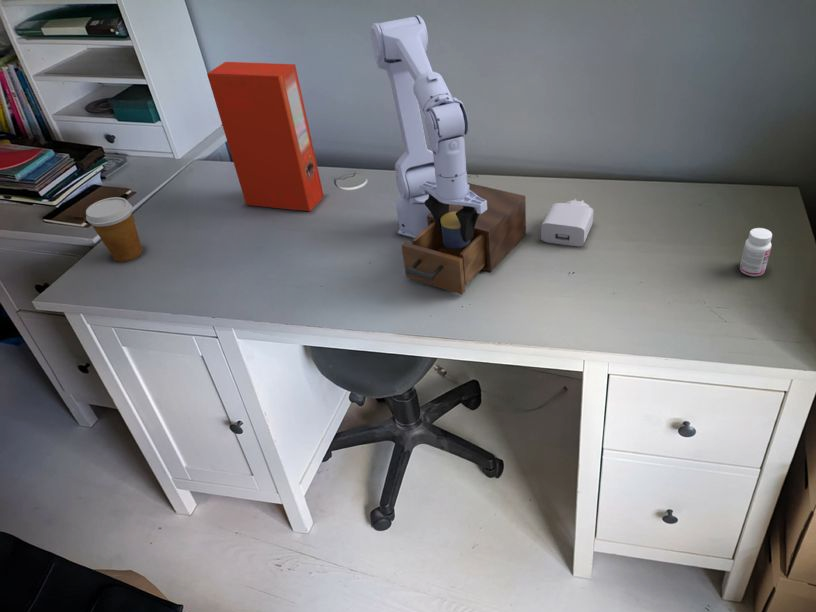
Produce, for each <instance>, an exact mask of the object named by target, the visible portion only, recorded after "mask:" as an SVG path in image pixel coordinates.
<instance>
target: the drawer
mask: <svg viewBox="0 0 816 612" xmlns="http://www.w3.org/2000/svg"><path fill="white" fill-rule="evenodd" d="M401 251H402V258H403V264H404V272H405V277H406V279H410V280H413V281H416V282H420V283H422V284H426V285H428V286H433V287H435V288H440V289H443V290H446V291H449V292H453V293H456V294H459V295H464V294H465V292H466V286H467V285H468V284H469V283H470V282H471V281H472V280H473V279H474V278H475V277H476V276H477V275H478V274H479V273H480V271H481V270H482V268H483V267H484V266H485V265H486V264H487V250H486V234H483V233H479V232H475V231H474V233H473V238H472V239H471V241H470V243H469V244H468V245H467V246H465V247H462V248H457V249H453V248H448V247H446V246H445V245H444V244H443V237H442V233H440V231H439V229H438V226H437V224H436V221H433V222H432V223H431V224H430V225H429V226H428V227H427V228H425V229H424V230H423V231H422V232H421V233H420V234H419V235H417V236H416V237H415V238H413V239H412V240H411V243H409V242H406V241H404V242H403V243H402V244H401Z"/></svg>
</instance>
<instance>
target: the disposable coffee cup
mask: <svg viewBox="0 0 816 612" xmlns="http://www.w3.org/2000/svg"><path fill="white" fill-rule="evenodd" d="M85 215H86V216H85V220H86V222H88V223H89V224H90V225H91V226H92V228H93V229H94V230H95V232H96V234H97V235H98V237H99V238H100V240H101V241H102V243H103V245H104V246H105V247H106V249H107V251H108V252H109V253H110V255H111V257H112V258H113V260H114V261H116V262H120V263H123V262H130V261H132V260H135V259H137V258H138V257H139V256H141V255H142V253H143V247H142V243H141V241H140V236H139V233H138V229H137V226H136V222H135V219H134V214H133V205H132V204H131V203H130V202H129V201H128V200H127V199H126V198H124V197H120V196H119V197H118V196H116V197H108V198H103V199H101V200H97V201H95V202H94V203H92V204H90V205H89V206H88V207H87V208H86V210H85Z"/></svg>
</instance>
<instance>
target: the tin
mask: <svg viewBox="0 0 816 612" xmlns="http://www.w3.org/2000/svg"><path fill="white" fill-rule="evenodd" d="M456 212H458V211H456ZM456 212H449V213H446V214H445V215H443V216H442V217H441V228H442V237H443V244H444V245H445V246H446V247H448V248H453V249H457V248H462V247H465V246H467V245H468V244H469V243H470V241H471V239H470V240H469V241H468V242H464V241H463V238H462V230H461V225H460V222H459V220H458V218H457V216H456Z"/></svg>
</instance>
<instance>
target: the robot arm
mask: <svg viewBox="0 0 816 612" xmlns="http://www.w3.org/2000/svg"><path fill="white" fill-rule="evenodd" d="M370 40H371V45H372V49H373V55H374V59H375V62H376V64H377V65H376V66H377V69H381V70H384V71H386V73H387V76H388V79H389V83H390V87H391V91H392V96H393V101H394V106H395V111H396V116H397V120H398V125H399V130H400V135H401V139H402V140H401V141H402V144H403V149H404V152H403V154H401V156H400V157H399V158H398V159H397V161H396V162H395V164H394V171H395V183H396V187H397V190H398V193H399V195H398V197H397V200H396V213H397V219H398V220H397V221H398V227H399V230H398V231H397V233H398V235H401V236H405V237H408V238H413V239H414V238H415V237H416V236H417V235H419V234H420V233H421V232H422V231H423V230H424V229H425V228H427V227H428V221H427V215H429V214H430V213H431V214H432V215H433V217H434V219H435V221H436V224H437V226H438V229H439V231H440V233H442V228H441V217H442V216H443V215H445V214H446V213H449V204H452V205H461V206H463V209H461V210H459V211H458V212H456V216H457V218H458V220H459V222H460V225H461V230H462V238H463V241H464V242H468V241H469V240H470V239H472V238H473V233H474V228H475V224H476V221H477V219H478V216H479V214H482V213H483V212H485V211H486V210H487V200H484V199H482V198H480V197H479V196H477V195H476V194H475V193H473V192H472V191H471V190H469V184H467V183H468V174H467V160H466V145H465V144H466V143H465V136H466V135H468V134H469V130H470V129H469V127H470V126H469V125H470V124H469V118H468V113H467V110H466V108H465V106H464V103H463V102H462V101H461V100H460V99H458V98H457V97H453V95H452V94H451V92H450V89H449V88H448V85H447V84H446V82H445V80H444V78H443V76H442V75H441V74H440V73H438V72H437V71H433V69H432V66H431V63H430V61H429V58H428V55H427V51H428V44H429V34H428V30H427V24H426V22H425V20H424V19H423V17H421V16H420V14H416V15H414V16H410V17H404V18H399V19H393V20H388V21H382V22H374V23H372V26H371V27H370ZM420 108H421V110H420ZM421 111H422V113H423V114H424V124H425V129H426V132H427V136H428V143H429V147H430V148H431V149H428V146H427V141H426V136H425V131H424V125H423V120H422V116H421V115H422V114H421ZM464 135H465V136H464Z"/></svg>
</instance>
